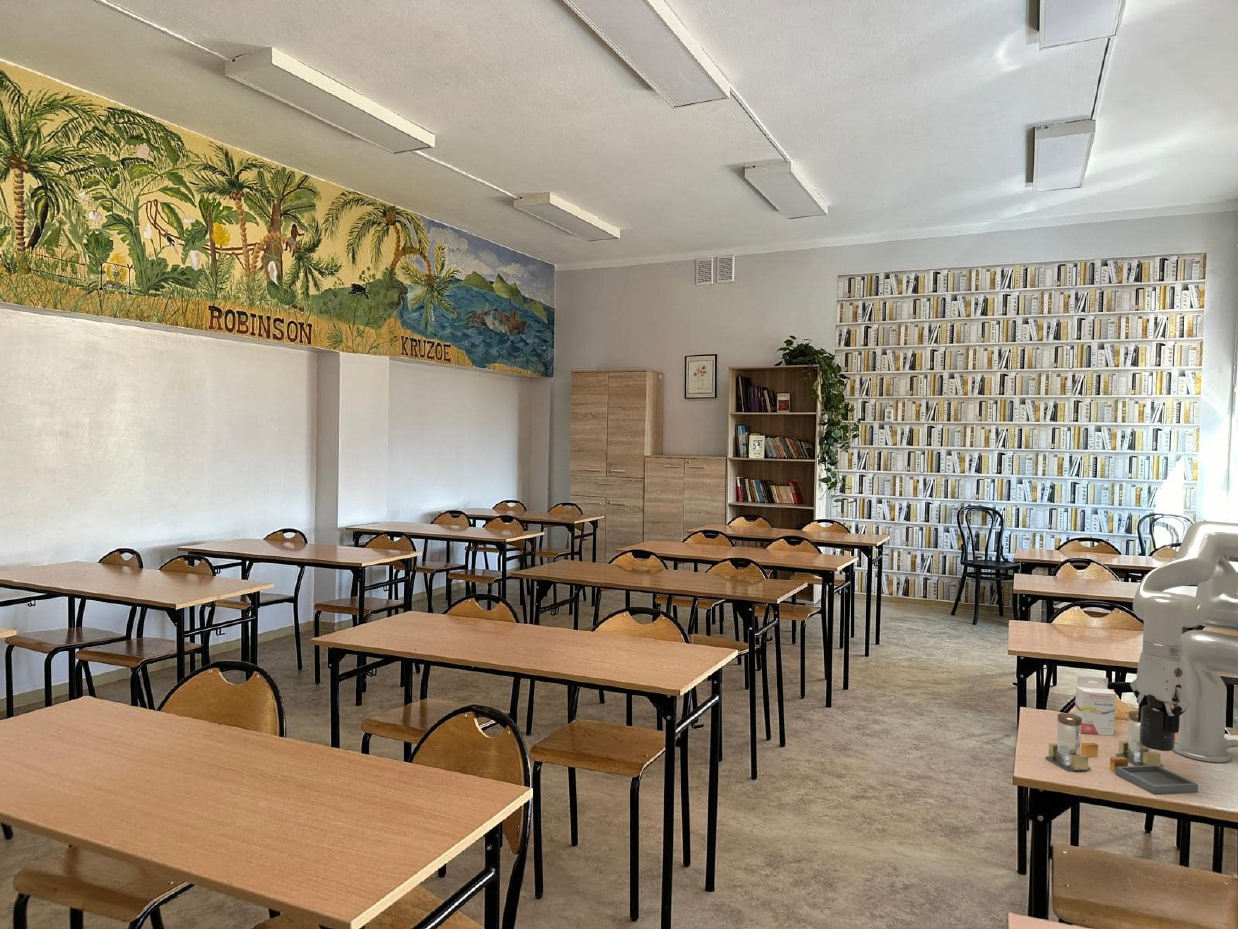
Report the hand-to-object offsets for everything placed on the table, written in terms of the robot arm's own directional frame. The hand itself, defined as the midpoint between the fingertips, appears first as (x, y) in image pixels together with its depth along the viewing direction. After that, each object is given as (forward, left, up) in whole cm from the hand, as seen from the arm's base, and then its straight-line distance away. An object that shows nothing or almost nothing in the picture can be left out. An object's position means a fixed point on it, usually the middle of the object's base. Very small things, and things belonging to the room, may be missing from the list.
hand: (1157, 726), depth 192 cm
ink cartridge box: (-12, -34, -14) cm, 38 cm away
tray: (0, 0, -13) cm, 13 cm away
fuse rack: (+3, -13, -13) cm, 19 cm away
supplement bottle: (0, 0, -5) cm, 5 cm away
